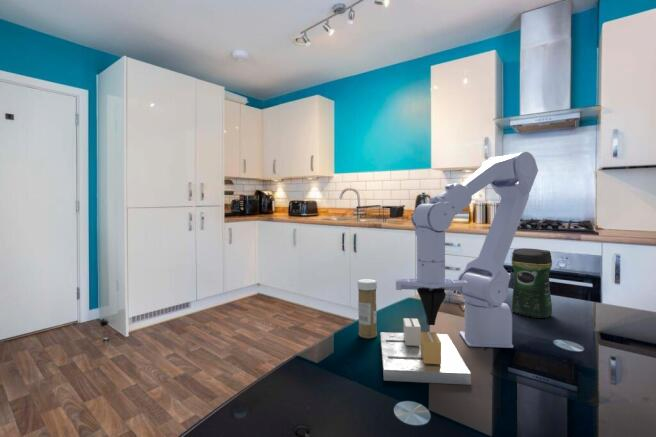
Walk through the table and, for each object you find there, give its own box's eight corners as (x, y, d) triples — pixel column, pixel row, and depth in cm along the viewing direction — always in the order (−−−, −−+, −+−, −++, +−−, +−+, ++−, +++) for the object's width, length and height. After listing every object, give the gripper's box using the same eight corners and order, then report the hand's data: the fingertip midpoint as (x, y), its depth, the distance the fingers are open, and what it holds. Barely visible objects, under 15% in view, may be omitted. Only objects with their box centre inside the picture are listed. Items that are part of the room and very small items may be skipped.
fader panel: (447, 343, 77) (447, 333, 77) (470, 384, 60) (470, 372, 59) (380, 340, 79) (380, 331, 79) (383, 380, 61) (383, 368, 61)
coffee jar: (555, 315, 96) (556, 249, 95) (544, 321, 91) (545, 251, 90) (519, 307, 103) (519, 246, 102) (507, 312, 98) (507, 248, 97)
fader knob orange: (435, 352, 67) (435, 331, 67) (441, 364, 63) (441, 341, 62) (420, 351, 68) (420, 331, 68) (424, 363, 63) (424, 341, 63)
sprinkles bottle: (381, 336, 82) (380, 280, 81) (366, 340, 79) (365, 283, 79) (368, 330, 86) (368, 277, 85) (354, 334, 83) (353, 279, 83)
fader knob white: (417, 336, 76) (417, 317, 76) (420, 345, 71) (420, 325, 71) (403, 336, 76) (403, 317, 76) (405, 345, 71) (405, 325, 71)
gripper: (397, 262, 69) (397, 329, 70) (472, 263, 67) (471, 331, 68) (394, 257, 76) (394, 317, 77) (462, 258, 74) (462, 319, 75)
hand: (430, 323), depth 73 cm, fingers closed
